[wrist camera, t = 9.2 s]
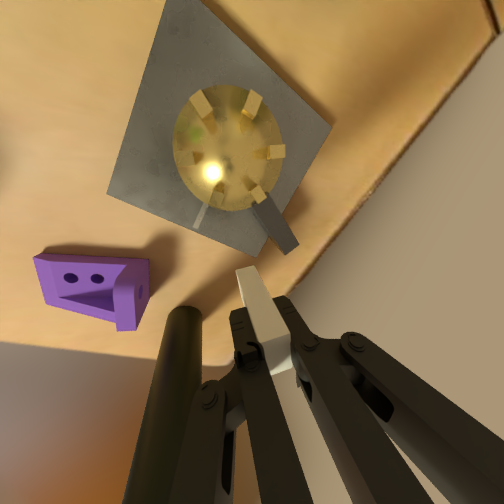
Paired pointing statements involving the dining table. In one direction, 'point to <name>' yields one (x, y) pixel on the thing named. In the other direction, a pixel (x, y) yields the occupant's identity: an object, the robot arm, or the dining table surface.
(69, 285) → the bracket
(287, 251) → the gold tabbed disc
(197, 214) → the plate
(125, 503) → the wine bottle
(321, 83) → the dining table surface
